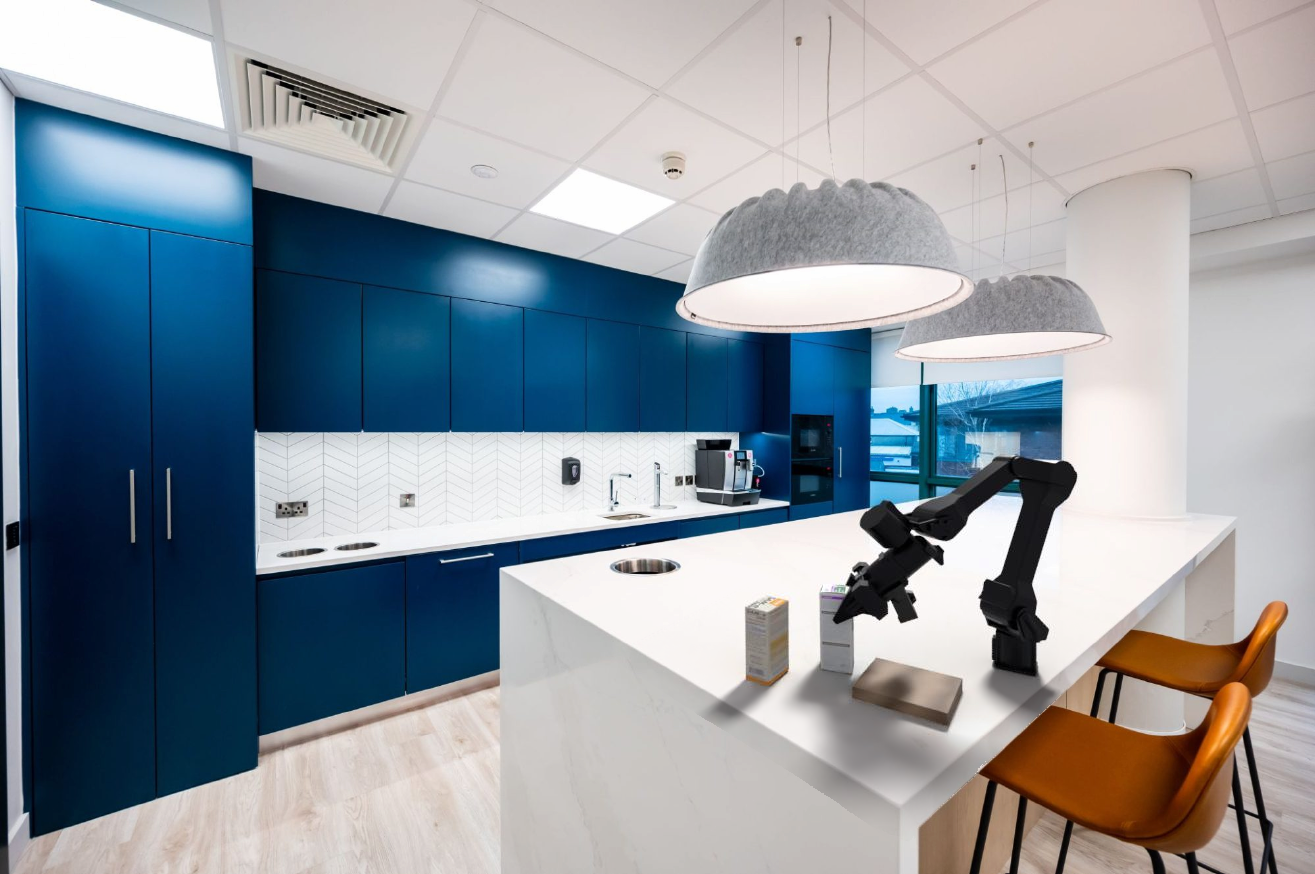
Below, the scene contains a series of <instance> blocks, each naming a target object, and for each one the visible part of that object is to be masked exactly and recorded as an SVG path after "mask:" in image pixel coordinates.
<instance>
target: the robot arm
mask: <svg viewBox="0 0 1315 874" xmlns="http://www.w3.org/2000/svg"><path fill="white" fill-rule="evenodd" d="M1015 480H1017V481H1018V490H1019V493H1020V496H1021V499H1022V505H1021V507H1020V511H1019V514H1018V518H1017V520H1016V524H1015V527H1014V530H1013V533H1012V537H1011V540H1010V542H1009V546H1008V550H1007V553H1006V555H1005V560H1004V562H1003V566H1002V568H1001V572H1000V573H999V575H997V576H996V577H995V578H994V579H990V578H986V579H984V581H983V584H982V590H981V593H980V594H979V596H977V597H978V600H979V601H980V603H979V609H980V610H981V612H982V615H983V616H984V618H985V621H986V624H987V626H988V627H991V628H994V629H995V634H993V635H992V637H991V660H992V661H994V663H993V667H994V668H998V669H1002V670H1007V671H1011V672H1016V673H1021V674H1025V675H1029V674H1030V676H1034V677H1036V676H1035V675H1037V676H1038V666H1039V665H1038V661H1037V660H1038V659H1037V657H1038V651H1037V650H1038V644H1040V643H1041V642H1043V641H1044V642H1045V641H1047V639H1048V636H1049V633H1050V628H1049V627H1048V626H1047V625H1046V624H1045V623H1044V622H1043V621H1042V620H1041V618H1040V617H1039V616H1038V615H1036V612H1037V607H1038V599H1037V596H1036V593H1035V590H1034V586H1033V583H1034V579H1035V575H1036V573H1037V570H1038V565H1039V562H1040V559H1041V556H1042V553H1043V550H1044V546H1045V543H1046V539H1047V536H1048V533H1049V530H1050V527H1051V523H1052V520H1053V516H1054V513H1055V511H1056V509H1057V508H1058V507H1060V506H1061V505H1062V504H1063V503H1064V502H1066V501H1067V500H1068V499H1069V498H1070V497H1071V494H1072V492H1073V491H1074V488H1075V486H1076V483H1077V481H1078V472H1077V471H1076V469H1075V468H1074V466H1073V464H1072V463H1071V462H1069V461H1067V460H1061V459H1059V460H1058V459H1044V458H1043V459H1041V458H1039V459H1038V458H1028V457H1024V456H1021V455H1018V454H1015V455H1014V454H999V455H996V456H995V457H994V458H993V459H992V461H991V462H990V463H988V464H987V465H985V466H984V467H983V468H981V469H980V470H979V471H978V472H976V473H975V474H973V475H972V476H971V477H969V478H968V479H967V480H966V481H965V482H962V484H960V485H959V486H957V487H956V488H954V490H953V489H952V491H951V492H949V493H947V494H946V495H942V496H939V497H935V498H932V499H929V500H927V501H925V502H924V503H921V504H920V505H918V506H916V507H915V508H914V509H913V510H912V511H911V512H906V513H902V512H901V511H900V510H899V508H897V506H896V505H895V504H894V502H892V500H885V499H883V500H881V501H880V503H879V504H875V505H874V506H872V507H871V508H869V509H868V510H865V511H864V513H863V514H862V516H861V518H860V520H859V526H860V528H861V529H862V530H863V531H865V533H866V534H867V535H868V536H870V537H871V538H872V539H873V540H874V541H876V543H878V545H880V546H881V547H882V548H883V549H886V550H885V551H881V552H880V553H879V554H878V558H876V559H875V560H874V561H873V562H871V564H868V562H866V561H858V562H857V563H856V564H855V565H854V566H852V570H851V571H852V572H853V573H852V572H851V573H849V576H848V578H847V580H846V583H845V584H844V585H845V586H850V587H849V589H848V591H847V593H846V595H845V597H844V599H843V600H842V602H841V604H840V606H839V608H838V610H837V612H836V613H835V615H834V617H833V622H834V623H835V624H839V623H842V622H844V621H846V620H849V619H851V618H855V617H858V616H861V615H867V616H871V617H873V618H876V620H878V621H882V620H883V618H885V617H887V615H888V614H889V604H888V603H889V602H891V604H892V607H893V609H894V610H895V611H894V612H895V613H896V614H897V619H898V622H899V623H900V624H904V623H907V622H910V621H914V620H917V619H919V616H918V613H917V610H916V608H915V605H914V604H915V603H917V597H916V596H915V593H914V591H913V590H912V589H906V587H908V585H909V579H910V578H911V577H912V576H913V575H914V574H915V573H917V572H918V571H919V570H921V569H922V568H923V567H924V566H925V565H926V564H927V563H929V562H930V561H931V560H933V561H935V562H936V563H937V564H938V565H939V566H944V565H945V561H944V553H945V550H944V549H943V547H941V545H939V544H932V543H931V542H930V541H929V540H927V538H929V539H934V540H937V541H942V542H950V541H951V540H953V539H955V538H956V536H958V534H959V533H961V531H962V530H964V528H965V527H966V526H967V523H968V521H969V518H970V517H969V516H971V515H972V514H973V512H974V511H976V510H977V509H978V508H979V507H981V506H982V505H983V504H985V503H986V502H987V501H989V500H990V499H991V498H993V497H994V496H996V495H997V494H999V492H1000V491H1003V490H1004V489H1005V488H1006V487H1007V486H1009V485H1010V484H1011V483H1013V482H1014V481H1015ZM912 531H913V532H915V533H916V535H914V534H913V533H912ZM855 573H856V574H855ZM854 574H855V575H854Z"/></svg>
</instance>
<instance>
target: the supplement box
mask: <svg viewBox="0 0 1315 874" xmlns="http://www.w3.org/2000/svg"><path fill="white" fill-rule="evenodd" d="M789 602H790V601H789V599H786V598H781V597H776V596H772V595H765V596H763V597H761V598H758V599H757V600H756V601H753V602H752V603H749V604H748V605H746V606H744V620H745V621H744V623H745V625H744V626H745V627H744V628H745V630H744V631H745V635H744V636H745V642H744V643H745V645H744V646H745V679H746V680H748V681H751V682H755V683H757V684H761V685H763V686H766V687H769V686H771V685H772V684H773V683H775V682H776V681H777V680H778V679H779V678H781V677H782V676H783V675H785V674H786V673H787V672H788V671H789V670H790V654H789V653H790V651H789V650H790V648H789V647H790V643H789V642H790V641H789V640H790V639H789V637H790V636H789V635H790V634H789V633H790V631H789V630H790V629H789V628H790V627H789V625H790V623H789V621H790V620H789V616H790V615H789V609H790V608H789V605H790V603H789Z"/></svg>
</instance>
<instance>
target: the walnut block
mask: <svg viewBox="0 0 1315 874" xmlns="http://www.w3.org/2000/svg"><path fill="white" fill-rule="evenodd" d="M962 692H963V678H961V677H957V676H953V675H950V674H945V673H940V672H937V671H933V670H930V669H924V668H921V667H918V666H917V667H916V666H913V665H909V664H904V663H900V662H897V661H893V660H888V659H884V658H880V657H877V656H876V657H875V658H874V659H873V661H871V663H870V664H869V665H868V666H867V667H866V669H864V671H863V673H862V674H861V675H860V676H859V677H858V678H857V679H856V680H855V682H854V683H853V684H852V686H851V699H852V700H856V701H860V702H864V703H867V704H870V705H873V706H877V707H880V708H884V709H886V710H890V711H893V712H897V713H899V714H900V713H901V714H905V715H907V716H910V717H914V718H918V719H921V720H924V721H928V722H932V723H935V724H938V725H941V724H942V725H941V726H945V727H948V726H949V724H950V722H949V721H951V718H952V717H953V714H954V712H955V709H956V707H957V705H958V703H959V700H960V697H961V695H962Z"/></svg>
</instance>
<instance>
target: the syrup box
mask: <svg viewBox="0 0 1315 874" xmlns="http://www.w3.org/2000/svg"><path fill="white" fill-rule="evenodd" d="M849 587H850V586H845V584H838V583H837V584H835V583H831V584H830V583H828V584H826V583H823V584H822V585H821V588H820V589H819V593H818V594H819V595H818V597H819V599H818V600H819V642H820V643H819V648H820V649H819V650H820V651H819V652H820V669H821V670H824V671H829V672H836V673H842V674H851V675H853V672H854V669H855V667H854V666H855V632H854V631H855V628H854V627H855V623H854V621H855V620H854V619H855V617H853V618H851V619H849V620H846V621H844V622H842V623H839V624H835V623H834V622H833V617H834V615H835V613H836V612H837V610H838V608H839V606H840V604H841V602H842V600H843V599H844V597H845V595H846V593H847V591H848V589H849Z"/></svg>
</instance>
